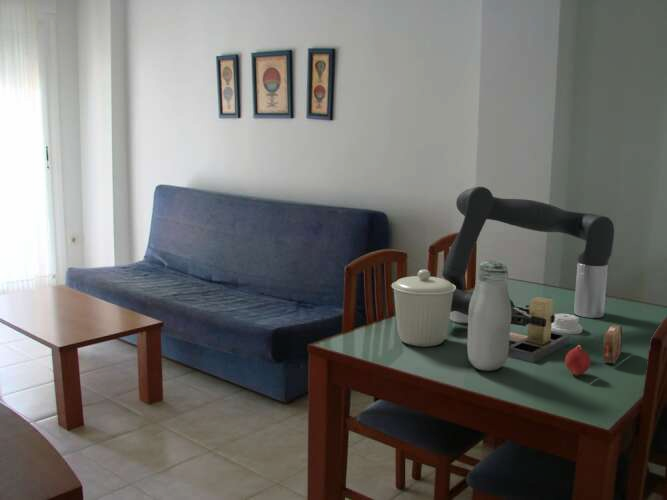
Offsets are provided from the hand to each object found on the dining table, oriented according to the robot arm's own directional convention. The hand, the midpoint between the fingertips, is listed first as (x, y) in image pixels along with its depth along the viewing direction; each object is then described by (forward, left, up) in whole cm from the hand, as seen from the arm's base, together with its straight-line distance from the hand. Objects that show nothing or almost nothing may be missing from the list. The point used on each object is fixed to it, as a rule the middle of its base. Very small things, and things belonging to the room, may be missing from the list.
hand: (549, 321), depth 174 cm
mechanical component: (-21, +13, -9) cm, 26 cm away
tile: (-12, -5, -9) cm, 16 cm away
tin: (+5, +15, -9) cm, 19 cm away
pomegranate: (+17, +1, -9) cm, 19 cm away
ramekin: (-32, -16, -9) cm, 37 cm away
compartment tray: (-2, -2, -9) cm, 9 cm away
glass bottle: (+12, -20, -9) cm, 25 cm away
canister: (-10, -33, -9) cm, 36 cm away
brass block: (-2, -2, -8) cm, 9 cm away
